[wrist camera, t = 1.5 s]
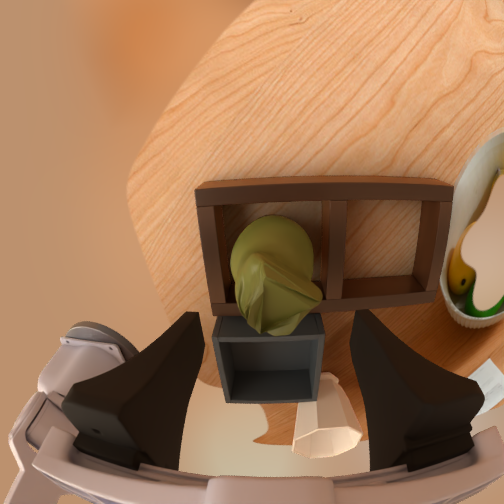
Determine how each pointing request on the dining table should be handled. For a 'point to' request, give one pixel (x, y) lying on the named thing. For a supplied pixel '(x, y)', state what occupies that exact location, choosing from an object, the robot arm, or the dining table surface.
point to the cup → (326, 422)
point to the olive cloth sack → (274, 275)
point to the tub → (269, 361)
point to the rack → (331, 236)
